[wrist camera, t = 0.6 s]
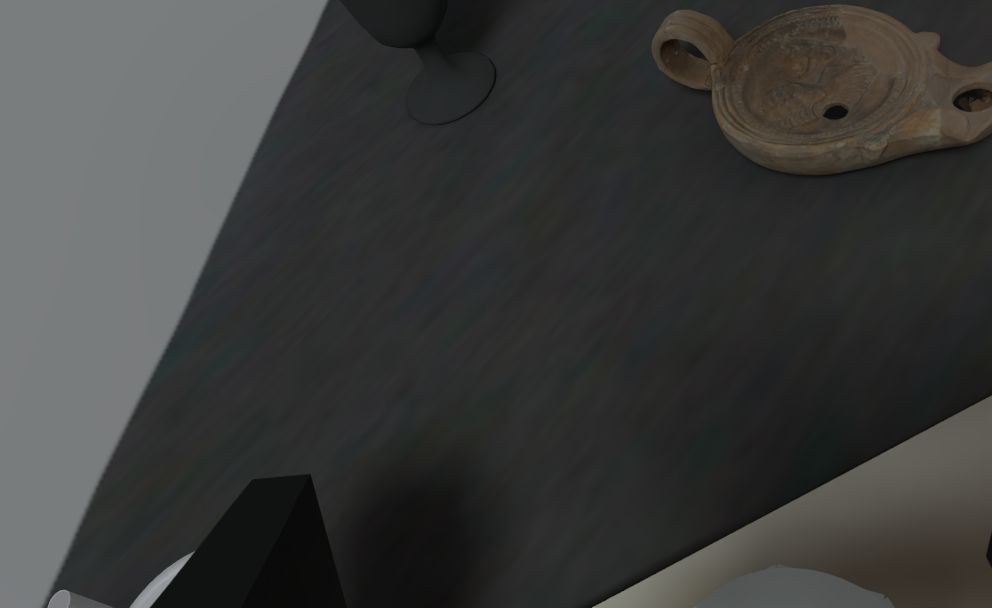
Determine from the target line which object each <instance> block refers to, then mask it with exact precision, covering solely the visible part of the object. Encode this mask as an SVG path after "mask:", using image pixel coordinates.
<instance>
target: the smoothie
mask: <svg viewBox="0 0 992 608" xmlns="http://www.w3.org/2000/svg"><path fill="white" fill-rule="evenodd" d="M193 553H194V552H193ZM193 553H191V554H189V555H187V556H185V557H183V558H181V559H180V560H178V561H177V562H175V563H174V564H172V565H171V566H170V567H168V568H167V569H166V570H164V571H163V572H162V573H161V574H160V575H158V576H157V577H156V578H155V579H154V580H153V581H152V582H151V583H150V584H149V585H148V586H147V587H146V588H145V589H144V590H143V592H142V593H141V594H140V595H139V596H138V597H137V599H136V600H135V601H134V603H133V604H132V605H131V607H130V608H150V606H151V605H152V604H153V603H154V602H155V600H156V599H157V598H158V597H159V596H160V594H161V593H162V592H163V591H164V590H165V588H166V587H167V586H168V585H169V583H170V582H171V581H172V580H173V578H174V577H175V576H176V575H177V573H178V572H179V571H180V569H181V568H182V567H183V566H184V564H185V563H186V562H187V561H188V559H189V558H190V557H191V556H192V554H193ZM48 608H113V607H111V606H108V605H105V604H102V603H99V602H97V601H94V600H91V599H88V598H86V597H83V596H80V595H77V594H75V593H72V592H69V591H66V590H61V591H59V592H57V593H56V594H55V595H54V596H53V597H52V599H51V600H50V603H49V605H48Z"/></svg>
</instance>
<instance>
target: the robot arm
mask: <svg viewBox="0 0 992 608" xmlns="http://www.w3.org/2000/svg"><path fill="white" fill-rule="evenodd" d="M986 557H987V560H988V562H989V564H990V566H991V568H992V532H991V537H990V541H989V545H988V549H987V554H986ZM150 608H347V607H346V603H345V600H344V596H343V592H342V589H341V585H340V581H339V578H338V574H337V570H336V567H335V563H334V559H333V556H332V552H331V548H330V544H329V541H328V537H327V533H326V530H325V526H324V522H323V519H322V515H321V511H320V508H319V504H318V500H317V497H316V493H315V489H314V485H313V482H312V478H311V474H306V475H296V476H285V477H274V478H264V479H253V480H252V481H251V482H250V483H249V484H248V485H247V487H246V488H245V489H244V490H243V491H242V493H241V494H240V495H239V496H238V498H237V499H236V500H235V501H234V502H233V504H232V505H231V506H230V507H229V509H228V510H227V511H226V512H225V514H224V515H223V516H222V518H221V519H220V520H219V521H218V523H217V524H216V525H215V526H214V528H213V529H212V530H211V531H210V533H209V534H208V535H207V537H206V538H205V539H204V540H203V542H202V543H201V544H200V545H199V547H198V548H197V549H196V551H195V552H194V553H193V554H192V556H191V557H190V558H189V559H188V561H187V562H186V563H185V564H184V566H183V567H182V568H181V569H180V571H179V572H178V573H177V575H176V576H175V577H174V578H173V580H172V581H171V582H170V583H169V585H168V586H167V587H166V588H165V590H164V591H163V592H162V593H161V594H160V596H159V597H158V598H157V599H156V600H155V602H154V603H153V604H152V605H151V606H150Z"/></svg>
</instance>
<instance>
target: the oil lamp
mask: <svg viewBox="0 0 992 608" xmlns="http://www.w3.org/2000/svg"><path fill="white" fill-rule="evenodd" d="M677 39H680V40H684V41H687V42H690V43H692V44H694V45H695V46H696V47H697V48H698V49H699V50H700V51H701V52H702V53H703V54H704V56H705V57H706V58H707V59H708V60H709V61H708V60H704V59H701V58H697V57H695V56H693V55H691V54H690V53H688V52H686V51H685V50H684V49H683V48H682V47H681V46H680V44H679V42H678V41H677ZM939 44H940V36H939V35H938V34H937V33H932V32H920V33H917V34H915V33H914V32H912V31H911V30H909V29H908V28H907V27H906V26H905V25H904V24H903V23H901V22H899V21H897V20H896V19H894V18H892V17H890V16H888V15H887V14H885V13H881V12H877V11H874V10H871V9H868V8H864V7H858V6H850V5H825V6H814V7H807V8H801V9H797V10H792V11H789V12H786V13H784V14H781V15H778V16H776V17H774V18H772V19H770V20H767V21H765V22H764V23H762V24H760V25H758V26H757V27H755V28H754V29H752V30H751V31H749V32H748V33H746V34H745V35H744V36H742V37H741V38H739V39H737V40H736V41H734V40H733V38H732V37H731V36H730V34H729V33H728V31H727V30H726V29H725V28H723V27H722V26H721V25H720V24H719V23H718V22H717V21H716V20H714V19H713V18H711V17H709V16H707V15H704V14H701V13H699V12H696V11H693V10H678V11H676V12H673V13H672V14H670V15H669V16H668V17H667V18H666V19H665V20H664V22H663V23H662V25H661V26H660V28H659V30H658V31H657V32H656V34H655V36H654V39H653V41H652V56H653V58H654V59H655V61H656V63H657V64H658V66H657V67H658V68H659V69H660V70H661V71H662V72H663V73H665V74H666V75H667V76H669V77H670V78H672V79H673V80H675V81H677V82H679V83H681V84H683V85H686V86H688V87H691V88H695V89H701V90H712V103H713V111H714V114H715V116H716V119H717V121H718V124H719V126H720V128H721V130H722V132H723V134H724V135H725V137H726V138H727V139H728V141H729V142H730V143H731V144H732V145H733V146H734V147H735V148H736V149H737V150H738V151H739V152H740V153H742V154H743V155H744V156H746V157H747V158H748V159H750V160H751V161H753V162H755V163H757V164H759V165H760V166H763V167H765V168H768V169H772V170H776V171H779V172H783V173H788V174H797V175H828V174H836V173H842V172H847V171H852V170H857V169H862V168H866V167H871V166H875V165H879V164H882V163H885V162H888V161H891V160H895V159H898V158H901V157H905V156H909V155H914V154H918V153H922V152H927V151H932V150H938V149H944V148H950V147H957V146H966V145H970V144H973V143H976V142H978V141H980V140H982V139H984V138H985V137H987V136H989V135H991V134H992V62H989V63H987V64H984V65H981V66H978V67H965V66H961V65H958V64H956V63H954V62H952V61H950V60H948V59H947V58H946V57H944V56H943V55H942V54H941V53H940V52H939V51H938V48H939Z"/></svg>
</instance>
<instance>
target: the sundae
mask: <svg viewBox="0 0 992 608" xmlns="http://www.w3.org/2000/svg"><path fill="white" fill-rule="evenodd" d="M340 1H341V2H342V4H343V5H344V6H345V7H346V8H347V10H348V11H349V12H350V13H351V14H352V16H353V17H354V18H355V19H356V20H357V22H358V23H359V24H360V25H361V26H362V27H363V28H364V29H365V30H366V31H367V32H368V33H369V34H370V35H372V36H373V37H374V38H375V39H376V40H377V41H378V42H379V43H381V44H382V45H386V46H390V47H395V48H414V49H415V50H416V52H417V53H418V55H419V57H420V58H421V60H422V62H423V64H424V67H425V69H424V70H423V71H422V72H421V73H420V74H419V75H418V76H417V77H416V78H415V80H414V81H413V83H412V84H411V86H410V88H409V90H408V94H407V101H406V107H407V110H408V112H409V114H410V116H411V117H412V118H413V119H415V120H416V121H418V122H420V123H423V124H430V125H439V124H444V123H449V122H452V121H455V120H457V119H459V118H461V117H463V116H465V115H467V114H468V113H470V112H472V111H473V110H474V109H475V108H477V107H478V106H479V105H480V104H481V103H482V102H483V101H484V100H485V99H486V97H487V96H488V94H489V92H490V91H491V88H492V86H493V84H494V81H495V68H494V65H493V63H492V62H491V60H490V59H489V58H487V57H486V56H484V55H482V54H479V53H477V52H458V53H454V54H451V55H448V56H446V55H445V53H444V52H443V51H442V49H441V48H440V46H439V44H438V42H437V40H436V38H435V34H436V32H437V30H438V29H439V27H440V25H441V24H442V21H443V18H444V15H445V12H446V9H447V0H340Z"/></svg>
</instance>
